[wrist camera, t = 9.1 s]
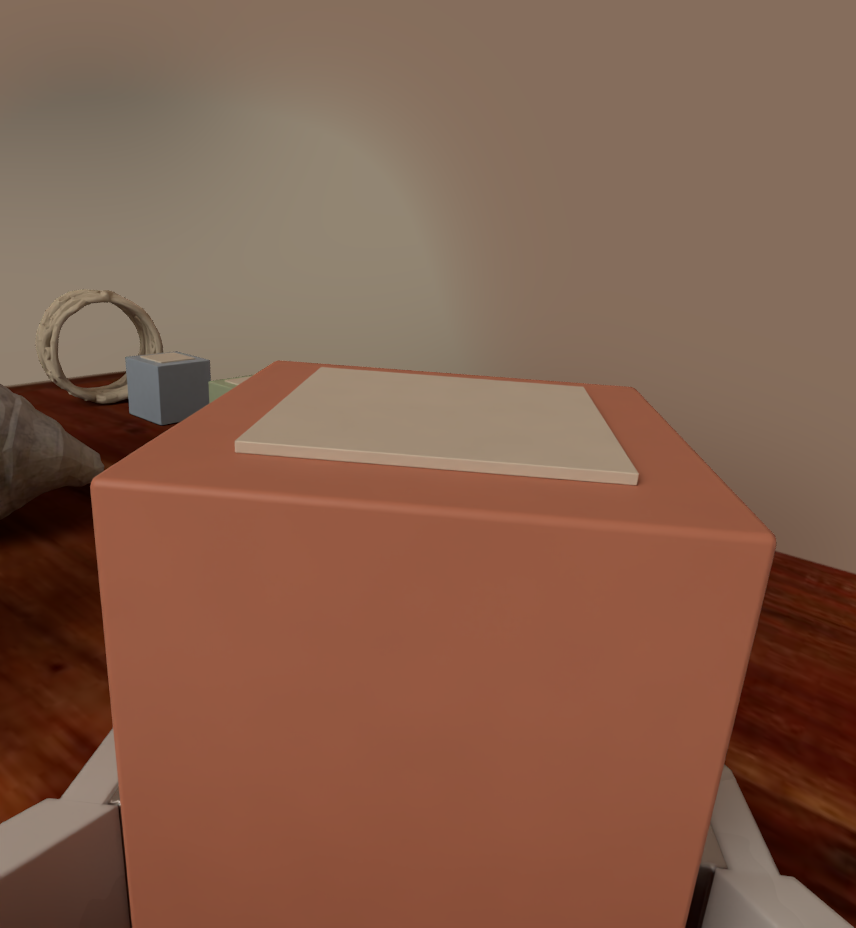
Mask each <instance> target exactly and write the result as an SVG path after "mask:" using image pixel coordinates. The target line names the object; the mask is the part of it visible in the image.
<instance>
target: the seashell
mask: <svg viewBox="0 0 856 928" xmlns="http://www.w3.org/2000/svg"><path fill="white" fill-rule="evenodd" d="M103 470H104V465H103V463H102V462H101V460H100V455H99V454H98V453H97V452H95V451H94V450H92V449H91V448H89V447H88V446H86V445H84V444H83V443H81V442H80V441H78V440H77V439H75V438H74V437H73V436H71V435H70V434H68V433H67V432H66V431H65V430H64V429H63V428H62V426H61V425H60V424H59V423H58V422H57V421H55V420H54V419H52V418H50V417H48V416H46V415H44V414H43V413H41V412H39V411H37V410H36V409H35V408H34V407H33V406H32V404H31V403H30V402H28V401H27V400H26V399H25V398H24V397H22V396H20V395H17V394H14V393H12V392H11V391H10V390H9V389H8V388H6V387H5V386H3V385H1V384H0V520H1V519H3V518H5V517H7V516H8V515H9V514H11V513H12V512H14V511H15V510H17V509H19V508H21V507H23V506H24V505H25V504H26V503H28V502H29V501H31V500H33V499H34V498H36V497H37V496H39V495H41V494H43V493H45V492H48V491H51V490H54V489H57V488H60V487H63V486H76V487H82V486H84V485H86V484H89V483H91V482H92V479H93V478H94V477H95V476H97V475H98V474H100V473H102V472H103Z"/></svg>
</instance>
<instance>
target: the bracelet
mask: <svg viewBox="0 0 856 928" xmlns="http://www.w3.org/2000/svg"><path fill="white" fill-rule="evenodd" d="M100 302H111V303H112V304H114V305H116V306H117V307H119V308H120V309H121V310H123V312H124V313H125V314H126V315H127V316H128V317H129V318H130V319H131V321H132V322H133V323H134V325H135V327H136V329H137V331H138V334H139V338H140V352H139V354H138V356H139V355H148V354H158V353H163V345H162V340H161V337H160V334H159V332H158V330H157V328H156V326H155V325H154V322H153V320H151V318H150V316H149V315H148V314H147V313H146V312H145V311H144V309H143V308H141V307H140V306H138V305H137V304H135V303H134V302H132V301H130V300H128V299H126V298H125V297H121V296H120V295H118V294H116V293H115V292H112V291H109V290H104V291H98V290H86V289H82V290H75V291H71V292H67V293H66V294H64V295H62V296H60V297H59V298H58V299H55V301H54V302H53V303H52V304H51V305H50V306H49V308H48V309H47V310H45V313H44V315H43V317H42V320H41V322H40V323H39V324H40V325H39V327H38V330H37V331H36V332H37V335H36V344H35V346H36V351H37V354H38V358H39V361H40V363H41V365H42V368H43V369H44V371H45V372H46V374H47V376H48V377H49V379H50V380H52V381H53V382H54V383H55V384H56V385H58V386H59V387H61V388H62V389H65V390H67V391H68V393H69V394H71V395H73V396H75V397H79V398H81V399H84V400H85V401H87V400H89V401H93V402H95V403H102V404H105V403H115V402H118V401H122V400H125V399H128V386H127V373H126V374H125V375H124V376H123V377H122V378H121V379H119V380H118V381H116V382H114V383H112V384H110V385H107V386H103V387H97V388H81V387H77V386H75V385H73V384H72V383H71V382H70V381H69V380H68V379H67V378H66V377H65V375H64V373H63V371H62V368H61V365H60V363H59V360H58V338H59V333H60V330H61V327H62V325H63V323H64V322H65V321H66V320H67V318H68V317H70V316H71V315H73V314H74V313H76V312H77V311H79V310H80V309H81V308H83V307H84V306H86V305H89V304H91V303H100Z"/></svg>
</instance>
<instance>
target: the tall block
mask: <svg viewBox="0 0 856 928" xmlns="http://www.w3.org/2000/svg"><path fill="white" fill-rule="evenodd" d="M90 491H91V501H92V512H93V522H94V533H95V543H96V554H97V564H98V575H99V585H100V596H101V606H102V617H103V627H104V638H105V648H106V659H107V669H108V680H109V690H110V700H111V711H112V721H113V732H114V742H115V753H116V763H117V774H118V784H119V795H120V805H121V816H122V826H123V837H124V847H125V858H126V868H127V879H128V889H129V900H130V910H131V921H132V928H685V926H686V922H687V918H688V914H689V909H690V905H691V901H692V897H693V893H694V888H695V884H696V880H697V876H698V872H699V867H700V863H701V859H702V855H703V851H704V847H705V842H706V838H707V834H708V830H709V826H710V821H711V817H712V813H713V809H714V805H715V800H716V796H717V792H718V788H719V784H720V779H721V775H722V771H723V767H724V763H725V758H726V754H727V750H728V746H729V742H730V737H731V733H732V729H733V725H734V721H735V716H736V712H737V708H738V704H739V700H740V695H741V691H742V687H743V683H744V679H745V675H746V670H747V666H748V662H749V658H750V654H751V649H752V645H753V641H754V637H755V633H756V628H757V624H758V620H759V616H760V612H761V607H762V603H763V599H764V595H765V591H766V586H767V582H768V578H769V574H770V570H771V565H772V561H773V557H774V553H775V549H776V538H775V535H774V534H773V533H772V532H771V531H770V530H769V529H768V528H767V527H766V526H765V525H764V523H763V522H762V521H761V520H760V519H759V518H758V517H757V516H756V515H755V514H754V513H753V512H752V511H751V510H750V509H749V508H748V507H747V506H746V505H745V504H744V502H743V501H742V500H741V499H740V498H739V497H738V496H737V495H736V494H735V493H734V492H733V491H732V490H731V489H730V488H729V487H728V486H727V485H726V484H725V483H724V482H723V480H722V479H721V478H720V477H719V476H718V475H717V474H716V473H715V472H714V471H713V470H712V469H711V468H710V467H709V466H708V465H707V464H706V463H705V462H704V460H703V459H702V458H701V457H700V456H699V455H698V454H697V453H696V452H695V451H694V450H693V449H692V448H691V447H690V446H689V445H688V444H687V443H686V442H685V441H684V440H683V438H682V437H681V436H680V435H679V434H678V433H677V432H676V431H675V430H674V429H673V428H672V427H671V426H670V425H669V424H668V423H667V422H666V421H665V420H664V419H663V417H661V415H660V414H659V413H658V412H657V411H656V410H655V409H654V408H653V407H652V406H651V405H650V404H649V403H648V402H647V401H646V400H645V399H644V398H643V396H642V395H641V394H640V393H639V392H638V391H637V390H636V389H634V388H632V387H623V386H609V385H597V384H584V383H570V382H556V381H543V380H530V379H517V378H503V377H489V376H477V375H464V374H451V373H437V372H423V371H411V370H397V369H384V368H371V367H358V366H344V365H331V364H318V363H304V362H291V361H276V362H273V363H272V364H270V365H269V366H267V367H266V368H264V369H262V370H261V371H259V372H258V373H256V374H255V375H253V376H251V377H250V378H248V379H247V380H245V381H244V382H242V383H241V384H239V385H237V386H236V387H234V388H233V389H231V390H230V391H228V392H226V393H225V394H223V395H222V396H220V397H219V398H217V399H216V400H214V401H212V402H211V403H209V404H208V405H206V406H205V407H203V408H202V409H200V410H198V411H197V412H195V413H194V414H192V415H191V416H189V417H187V418H186V419H184V420H183V421H181V422H180V423H178V424H177V425H175V426H173V427H172V428H170V429H169V430H167V431H166V432H164V433H162V434H161V435H159V436H158V437H156V438H155V439H153V440H152V441H150V442H148V443H147V444H145V445H144V446H142V447H141V448H139V449H137V450H136V451H134V452H133V453H131V454H130V455H128V456H127V457H125V458H123V459H122V460H120V461H119V462H117V463H116V464H114V465H112V466H111V467H109V468H108V469H106V470H105V471H103V472H102V473H100V474H98V475H97V476H95V477H94V478H93V479H92V482H91V486H90Z"/></svg>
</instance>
